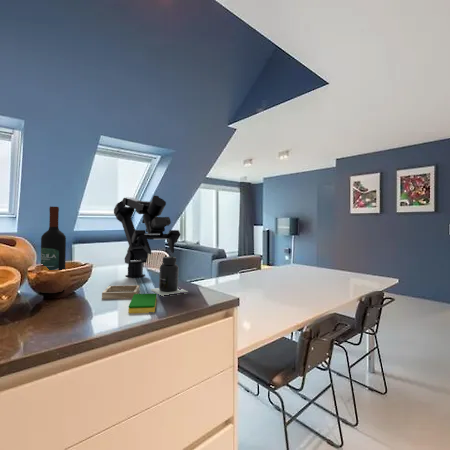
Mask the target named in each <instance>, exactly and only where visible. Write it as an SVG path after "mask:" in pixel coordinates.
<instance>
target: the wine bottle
mask: <svg viewBox="0 0 450 450" xmlns="http://www.w3.org/2000/svg"><path fill="white" fill-rule="evenodd" d="M48 209H49V210H48V211H49V227H48V230H46V231H45V232H44V233H43V234H42V235H41V238H40V265H41V264H43V265H44V266H46V267H47V268H48V269H49V270H62V269H65V270H66V260H67V259H66V257H67V256H66V255H67V254H66V253H67V250H66V248H67V243H66V242H67V240H66V239H67V237H66V234H65V233H64V232H62V231H61V230H60V228H59V211H60V207H59V206H49V208H48Z"/></svg>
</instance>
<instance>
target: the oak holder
mask: <svg viewBox="0 0 450 450" xmlns="http://www.w3.org/2000/svg"><path fill="white" fill-rule="evenodd" d="M140 286H141V285H140V284H136V285H134V284H133V285H125V284H123V285H108V286H107V287H106V288H105V289H104V290H103V291H102V292H101V299H102V300H112V299H113V300H114V299H115V300H118V299H119V300H120V299H122V300H123V299H132V298H133V296H134V294H140V291H141V288H140Z"/></svg>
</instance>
